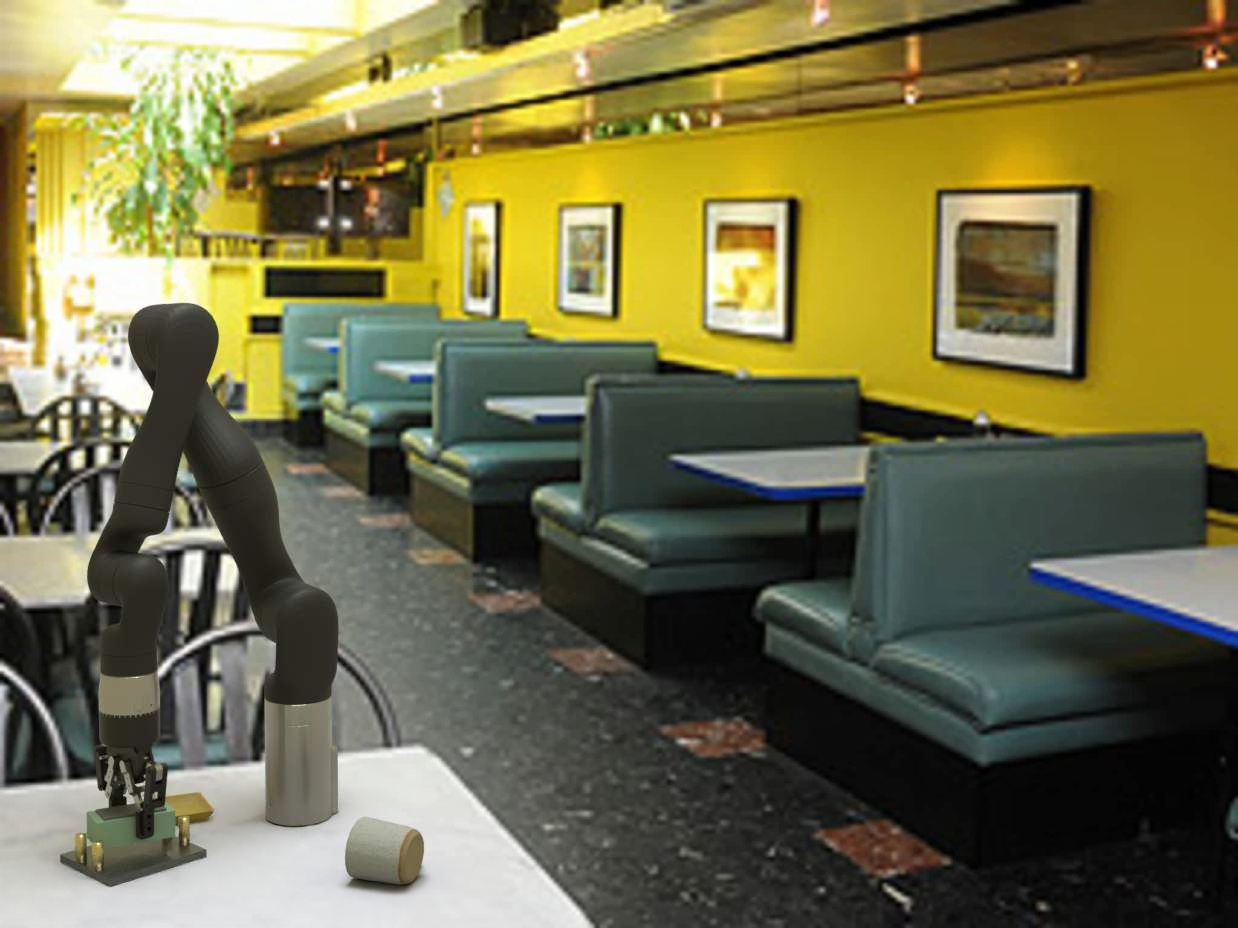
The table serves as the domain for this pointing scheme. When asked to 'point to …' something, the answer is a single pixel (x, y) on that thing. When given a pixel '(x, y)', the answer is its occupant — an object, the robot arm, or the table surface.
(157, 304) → the robot arm
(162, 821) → the green rectangular block
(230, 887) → the table surface
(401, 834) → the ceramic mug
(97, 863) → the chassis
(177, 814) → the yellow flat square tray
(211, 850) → the table surface
